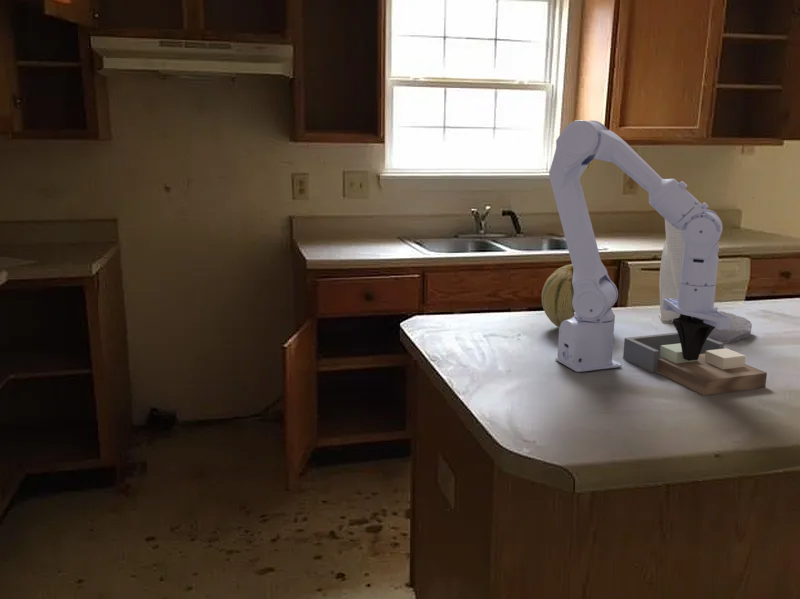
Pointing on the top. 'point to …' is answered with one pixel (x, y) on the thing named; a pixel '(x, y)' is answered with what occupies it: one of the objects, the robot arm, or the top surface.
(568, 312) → the cantaloupe
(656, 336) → the box
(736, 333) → the stone block
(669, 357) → the sage tile
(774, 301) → the top surface
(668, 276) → the skyscraper
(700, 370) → the walnut board
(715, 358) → the cream tile
